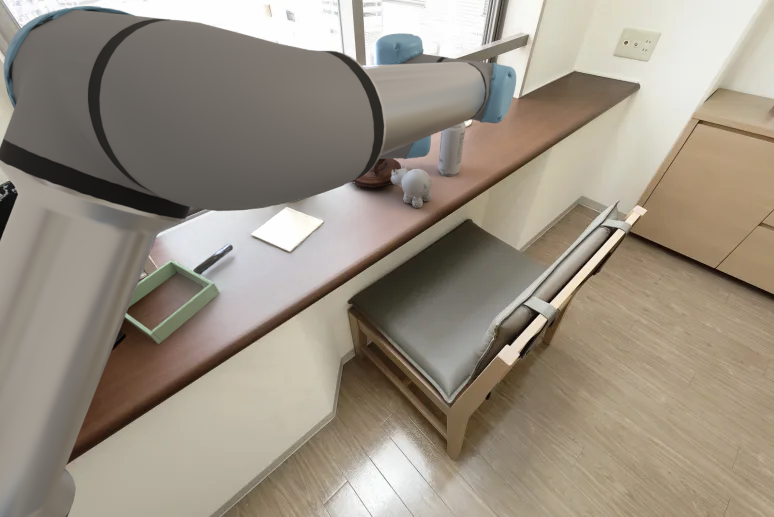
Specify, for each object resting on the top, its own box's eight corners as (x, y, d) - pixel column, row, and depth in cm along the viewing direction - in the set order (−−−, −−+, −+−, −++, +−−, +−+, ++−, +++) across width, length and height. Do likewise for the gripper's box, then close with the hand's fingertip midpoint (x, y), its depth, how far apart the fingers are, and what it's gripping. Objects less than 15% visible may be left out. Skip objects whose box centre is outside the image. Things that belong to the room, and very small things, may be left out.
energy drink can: (439, 165, 98) (444, 113, 88) (460, 167, 97) (467, 114, 86) (436, 176, 94) (440, 122, 84) (457, 178, 93) (465, 124, 82)
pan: (158, 344, 59) (149, 335, 57) (116, 313, 64) (107, 304, 62) (256, 262, 72) (251, 252, 70) (215, 242, 77) (209, 232, 75)
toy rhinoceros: (402, 182, 93) (402, 153, 86) (436, 200, 86) (438, 170, 80) (383, 193, 89) (381, 164, 83) (416, 212, 83) (417, 182, 77)
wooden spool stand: (405, 188, 90) (406, 112, 76) (350, 194, 89) (340, 118, 75) (396, 161, 101) (396, 90, 87) (347, 166, 100) (338, 94, 85)
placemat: (290, 252, 74) (289, 251, 74) (251, 235, 79) (250, 234, 78) (324, 222, 81) (323, 221, 81) (286, 208, 86) (286, 206, 86)
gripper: (342, 184, 58) (211, 187, 59) (352, 134, 72) (244, 137, 72) (336, 143, 53) (191, 147, 54) (348, 97, 66) (232, 101, 67)
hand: (222, 141), depth 63 cm, fingers closed on plastic bottle, 6 cm apart
